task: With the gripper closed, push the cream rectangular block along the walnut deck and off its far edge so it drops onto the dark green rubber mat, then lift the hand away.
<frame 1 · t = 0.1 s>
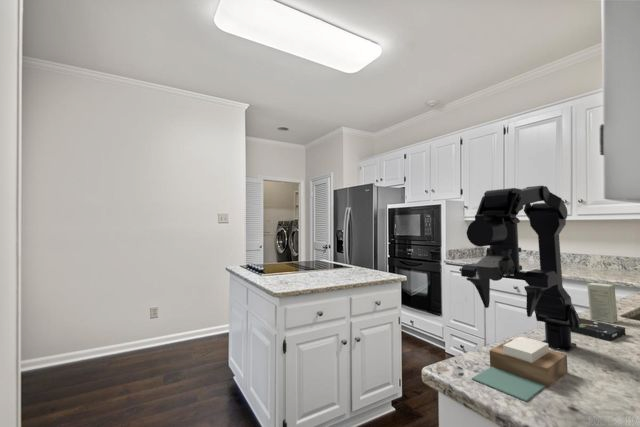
hand: (507, 311, 71), 15 cm above the counter, tool pointing down, fingers open, 9 cm apart
deck: (528, 369, 73), on the counter
disk drive: (587, 332, 97), on the counter
skincare box: (603, 320, 106), on the counter
cream rectangular block: (526, 353, 73), point 4 cm above the counter, touching deck
mat: (507, 383, 68), on the counter
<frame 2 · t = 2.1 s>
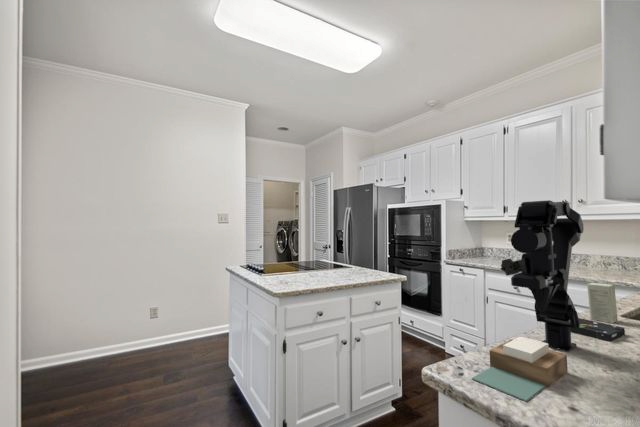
hand: (542, 311, 79), 12 cm above the counter, tool pointing down, fingers closed
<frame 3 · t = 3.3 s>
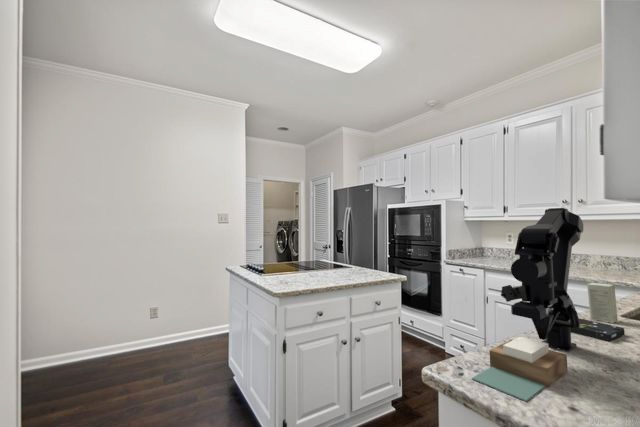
hand: (542, 339, 78), 5 cm above the counter, tool pointing down, fingers closed
nothing on the counter moved.
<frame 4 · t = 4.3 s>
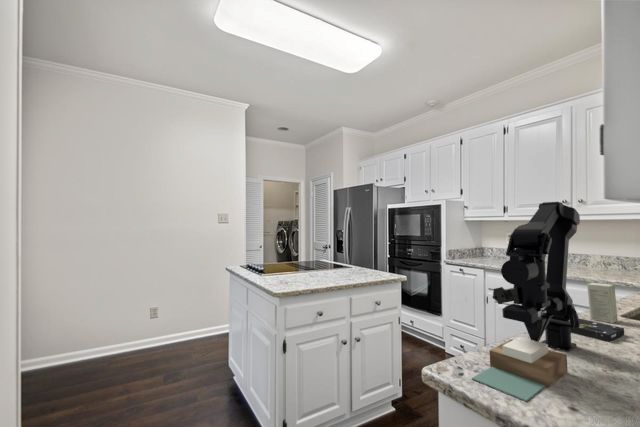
hand: (535, 343, 76), 5 cm above the counter, tool pointing down, fingers closed
cream rectangular block: (525, 353, 73), point 4 cm above the counter, touching deck, gripper
everything else where it was.
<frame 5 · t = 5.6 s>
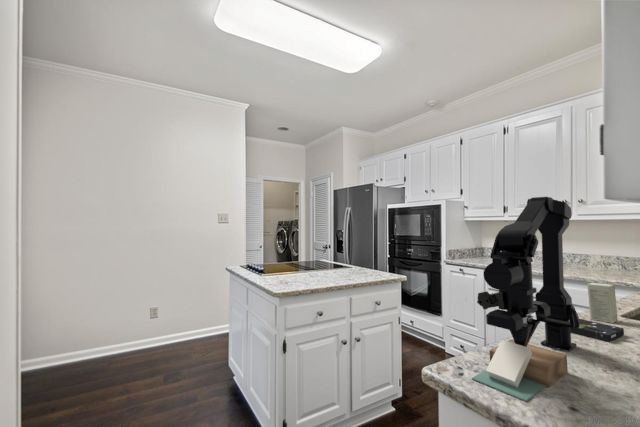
hand: (521, 350, 72), 5 cm above the counter, tool pointing down, fingers closed
cream rectangular block: (510, 365, 70), point 3 cm above the counter, tilted 35°, touching gripper
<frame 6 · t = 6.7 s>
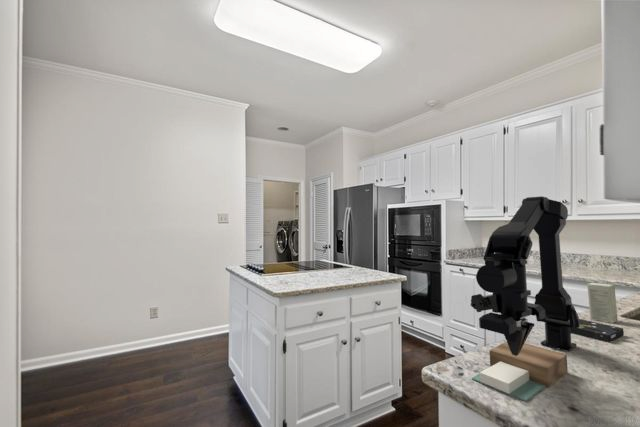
hand: (515, 354, 70), 5 cm above the counter, tool pointing down, fingers closed
cream rectangular block: (504, 380, 68), resting on mat
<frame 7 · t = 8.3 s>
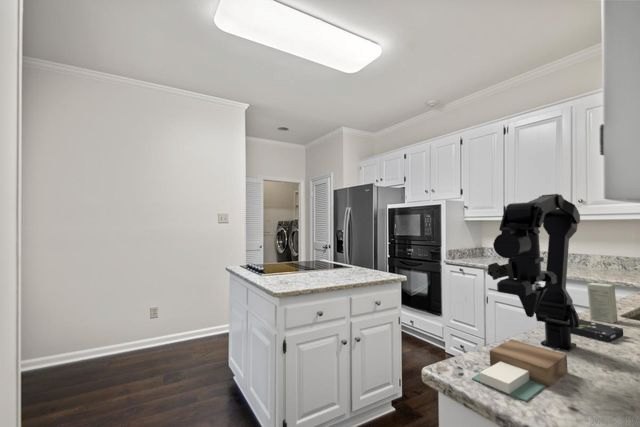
hand: (529, 316, 76), 12 cm above the counter, tool pointing down, fingers closed
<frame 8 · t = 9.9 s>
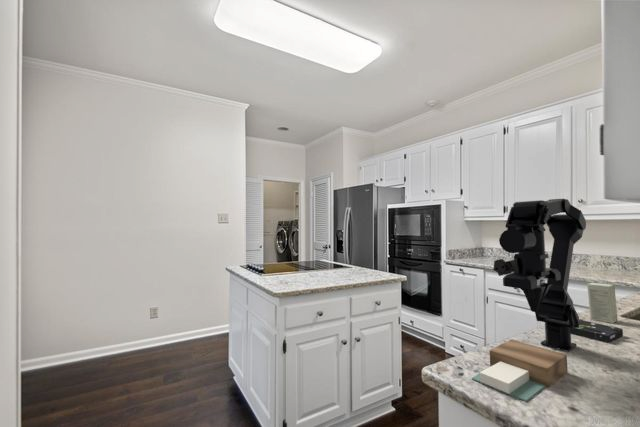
hand: (534, 311, 79), 12 cm above the counter, tool pointing down, fingers closed
at the end: cream rectangular block resting on mat; cream rectangular block inside the target area (0.6 cm from its centre), resting on mat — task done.
